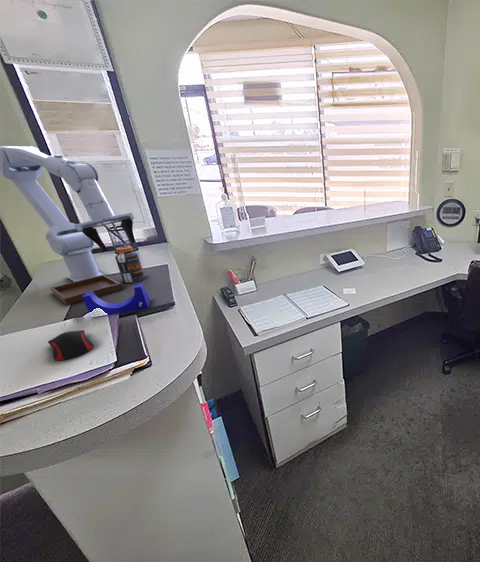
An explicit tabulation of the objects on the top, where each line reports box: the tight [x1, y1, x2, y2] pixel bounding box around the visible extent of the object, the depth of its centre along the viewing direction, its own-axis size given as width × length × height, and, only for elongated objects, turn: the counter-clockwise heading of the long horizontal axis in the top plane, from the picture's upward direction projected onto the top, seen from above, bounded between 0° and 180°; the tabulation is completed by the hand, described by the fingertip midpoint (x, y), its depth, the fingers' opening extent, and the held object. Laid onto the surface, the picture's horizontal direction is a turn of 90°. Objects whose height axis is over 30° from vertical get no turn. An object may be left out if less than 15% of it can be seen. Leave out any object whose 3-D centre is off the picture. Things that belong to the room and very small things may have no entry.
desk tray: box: [50, 274, 124, 306], centre depth 95 cm, size 15×13×2 cm
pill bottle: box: [114, 245, 146, 284], centre depth 102 cm, size 6×6×11 cm
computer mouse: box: [47, 329, 95, 362], centre depth 65 cm, size 6×11×4 cm, turn 51°
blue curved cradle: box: [82, 282, 151, 316], centre depth 81 cm, size 12×4×6 cm, turn 117°
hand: (119, 246), depth 98 cm, fingers open, 7 cm apart
